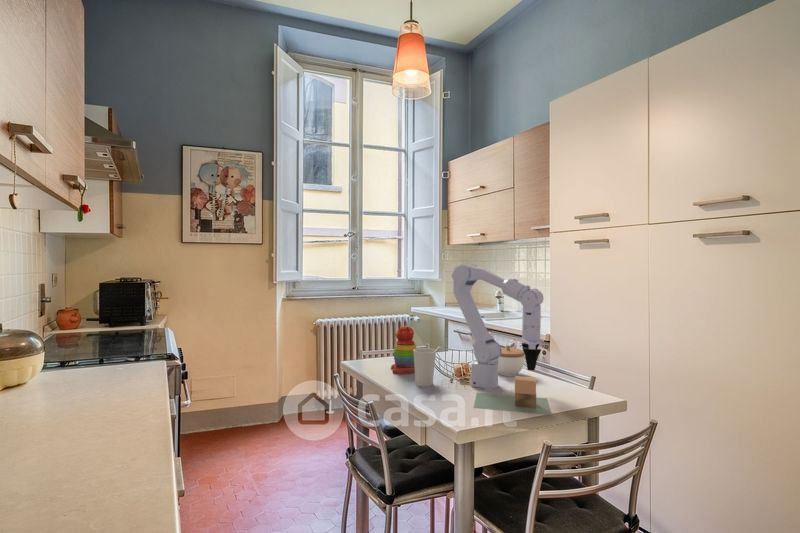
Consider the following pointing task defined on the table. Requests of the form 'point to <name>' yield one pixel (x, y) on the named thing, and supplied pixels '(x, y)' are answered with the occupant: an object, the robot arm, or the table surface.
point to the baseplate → (509, 404)
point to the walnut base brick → (525, 400)
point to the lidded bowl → (510, 361)
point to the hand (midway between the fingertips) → (530, 367)
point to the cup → (424, 366)
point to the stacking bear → (404, 351)
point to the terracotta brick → (525, 385)
